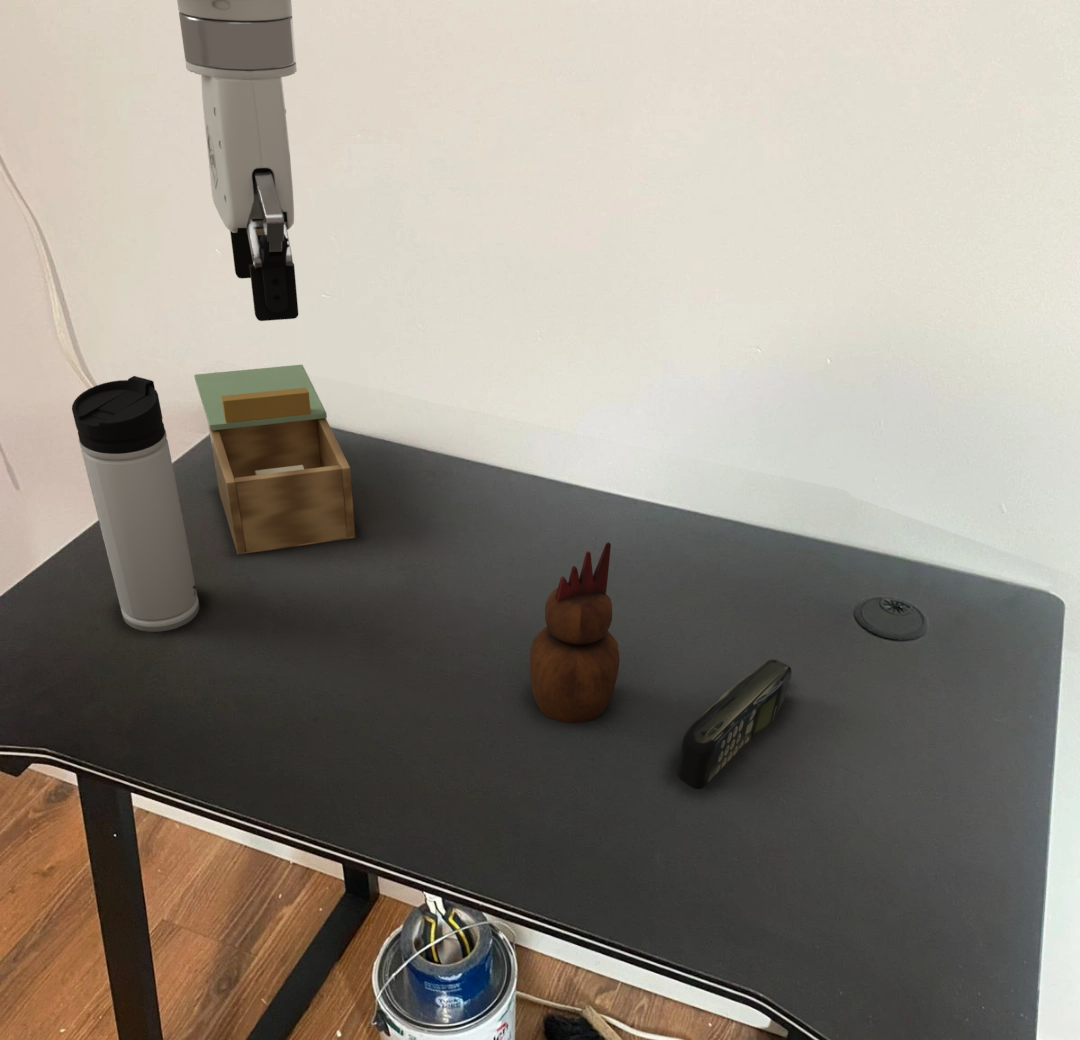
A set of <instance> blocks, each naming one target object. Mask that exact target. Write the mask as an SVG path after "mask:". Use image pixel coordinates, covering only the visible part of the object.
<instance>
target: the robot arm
mask: <svg viewBox="0 0 1080 1040" xmlns="http://www.w3.org/2000/svg"><path fill="white" fill-rule="evenodd" d="M176 1H177V8H178V17H179V23H180V24H179V25H180V30H181V38H182V44H183V45H182V46H183V52H184V53H183V54H184V62H185V69H186V70H187V71H189V72H190V73H194V74H196V75H199V76H200V80H201V81H200V82H201V99H202V109H203V120H204V130H205V138H206V149H207V157H208V158H207V159H208V166H209V177H210V178H209V179H210V188H211V197H212V201H213V204H214V207H215V209H216V211H217V213H218V215H219V217H220V219H221V221H222V224H223V225H224V227H225V228H227V230H228V231H229V233H230V241H231V250H232V257H233V265H234V273H235V276H236V277H237V278H238V279H250V282H251V293H252V301H253V311H254V316H255V318H256V320H257V321H259V322H269V321H279V320H280V321H282V320H294V319H297V318H298V317H299V304H298V294H297V281H296V271H295V263H294V262H293V261H294V260H293V254H292V248H291V244H290V239H289V234H288V233H289V232H288V231H289V230H290V229H291V228H292V226H293V225H294V223H295V206H294V204H295V203H294V190H293V188H294V187H293V176H292V175H293V174H292V164H291V152H290V142H289V132H288V122H287V109H286V103H285V95H284V87H283V86H284V85H283V78H285V77H289V76H292V75H294V74H295V73H297V71H298V69H297V62H296V60H297V59H296V46H295V34H294V32H295V31H294V21H293V8H292V6H293V5H292V0H176Z"/></svg>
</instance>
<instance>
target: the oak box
mask: <svg viewBox="0 0 1080 1040" xmlns="http://www.w3.org/2000/svg"><path fill="white" fill-rule="evenodd" d="M208 430H209V437H210V443H211V444H210V445H211V450H212V456H213V463H214V468H215V474H216V480H217V486H218V492H219V496H220V500H221V504H222V506H223V510H224V513H225V516H226V521H227V524H228V527H229V530H230V533H231V537H232V540H233V545H234V547H235V551H236V554H237V555H246V554H251V553H257V552H264V551H265V552H266V551H272V550H278V549H287V548H292V547H293V548H294V547H301V546H306V545H307V546H308V545H313V544H314V545H315V544H320V543H327V542H335V541H341V540H349V539H355V538H356V528H355V514H354V501H353V488H352V473H351V466H350V464H349V463H348V460H347V459H346V457H345V454H344V451H343V450H342V448H341V446H340V444H339V442H338V440H337V437H336V436H335V433H334V432H333V429H332V428H331V426H330V424H329V422H328V420H327V418H323V419H314V420H305V421H296V422H287V423H277V424H268V425H259V426H250V427H241V428H232V429H223V430H213V431H211V430H210V427H209V426H208ZM297 465H303V467H304V469H303V470H295V471H287V472H279V473H270V474H262V475H255V471H256V470H264V469H273V468H281V467H289V466H297Z"/></svg>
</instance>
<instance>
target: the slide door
mask: <svg viewBox="0 0 1080 1040" xmlns="http://www.w3.org/2000/svg"><path fill="white" fill-rule="evenodd" d="M193 375H194V377H193V378H194V382H195V384H196V388H197V392H198V395H199V397H200V401H201V404H202V408H203V410H204V413H205V418H206V420H207V423H208V428H209V427H210V430H211V431H213V430H223V429H232V428H241V427H250V426H259V425H268V424H277V423H287V422H296V421H305V420H314V419H323V418H326V419H327V418H328V414H327V411H326V409H325V407H324V405H323V402H322V401H321V399H320V397H319V395H318V393H317V391H316V389H315V386H314V385H313V383H312V381H311V378H310V377H309V375H308V373H307V371H306V369H305V367H304V365H303V364H294V365H293V364H292V365H283V366H273V367H271V366H270V367H262V368H261V367H260V368H251V369H240V370H229V371H219V372H217V371H216V372H208V373H198V374H197V373H195V374H193Z"/></svg>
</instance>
